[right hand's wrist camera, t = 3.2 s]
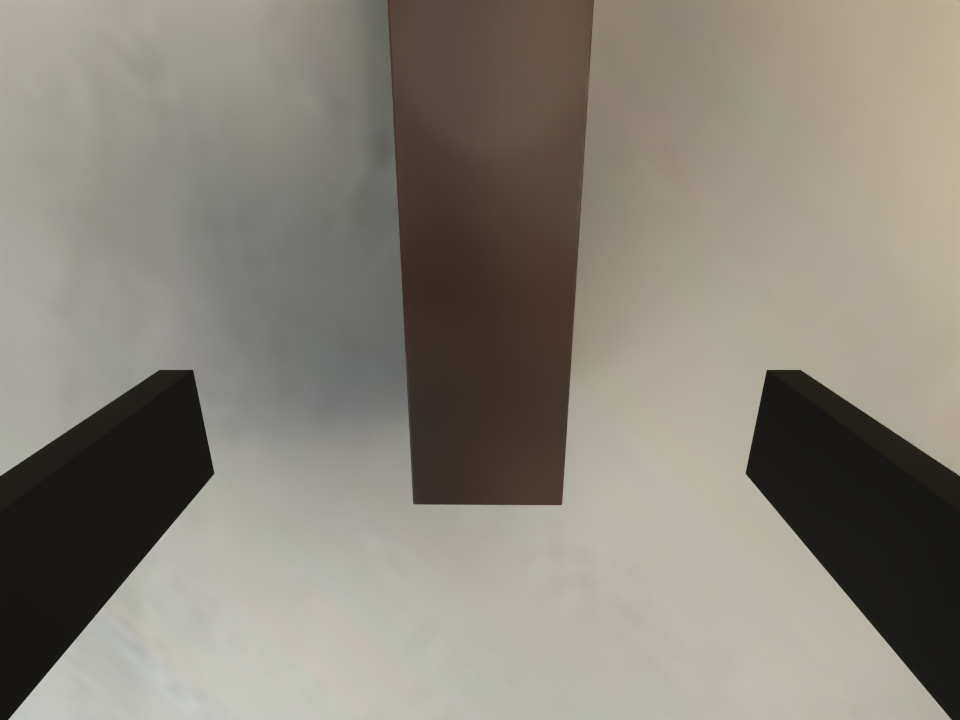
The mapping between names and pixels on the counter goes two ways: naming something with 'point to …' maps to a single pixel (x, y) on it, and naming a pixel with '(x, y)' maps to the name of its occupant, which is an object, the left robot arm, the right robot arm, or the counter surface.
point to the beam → (489, 238)
